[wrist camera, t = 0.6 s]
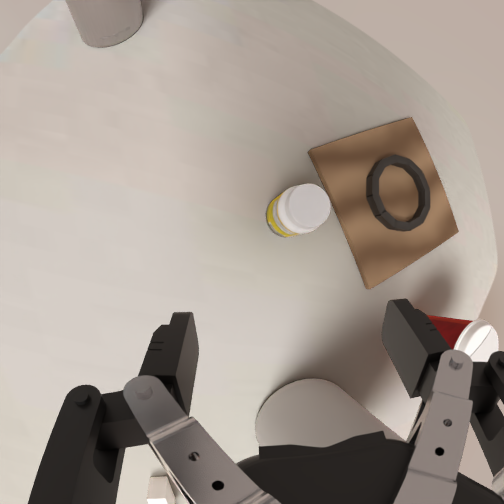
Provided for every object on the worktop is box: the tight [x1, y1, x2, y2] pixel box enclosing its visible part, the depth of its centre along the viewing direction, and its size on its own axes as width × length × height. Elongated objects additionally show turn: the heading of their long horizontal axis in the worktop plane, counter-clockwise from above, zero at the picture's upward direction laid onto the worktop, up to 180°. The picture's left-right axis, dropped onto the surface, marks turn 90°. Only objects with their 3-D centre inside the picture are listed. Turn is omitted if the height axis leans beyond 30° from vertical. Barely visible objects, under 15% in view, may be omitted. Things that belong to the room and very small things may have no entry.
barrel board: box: [308, 117, 459, 289], centre depth 37 cm, size 18×18×2 cm
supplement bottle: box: [266, 183, 331, 237], centre depth 32 cm, size 5×5×8 cm
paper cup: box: [427, 315, 498, 362], centre depth 32 cm, size 8×8×14 cm
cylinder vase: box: [255, 379, 406, 447], centre depth 24 cm, size 12×12×25 cm
